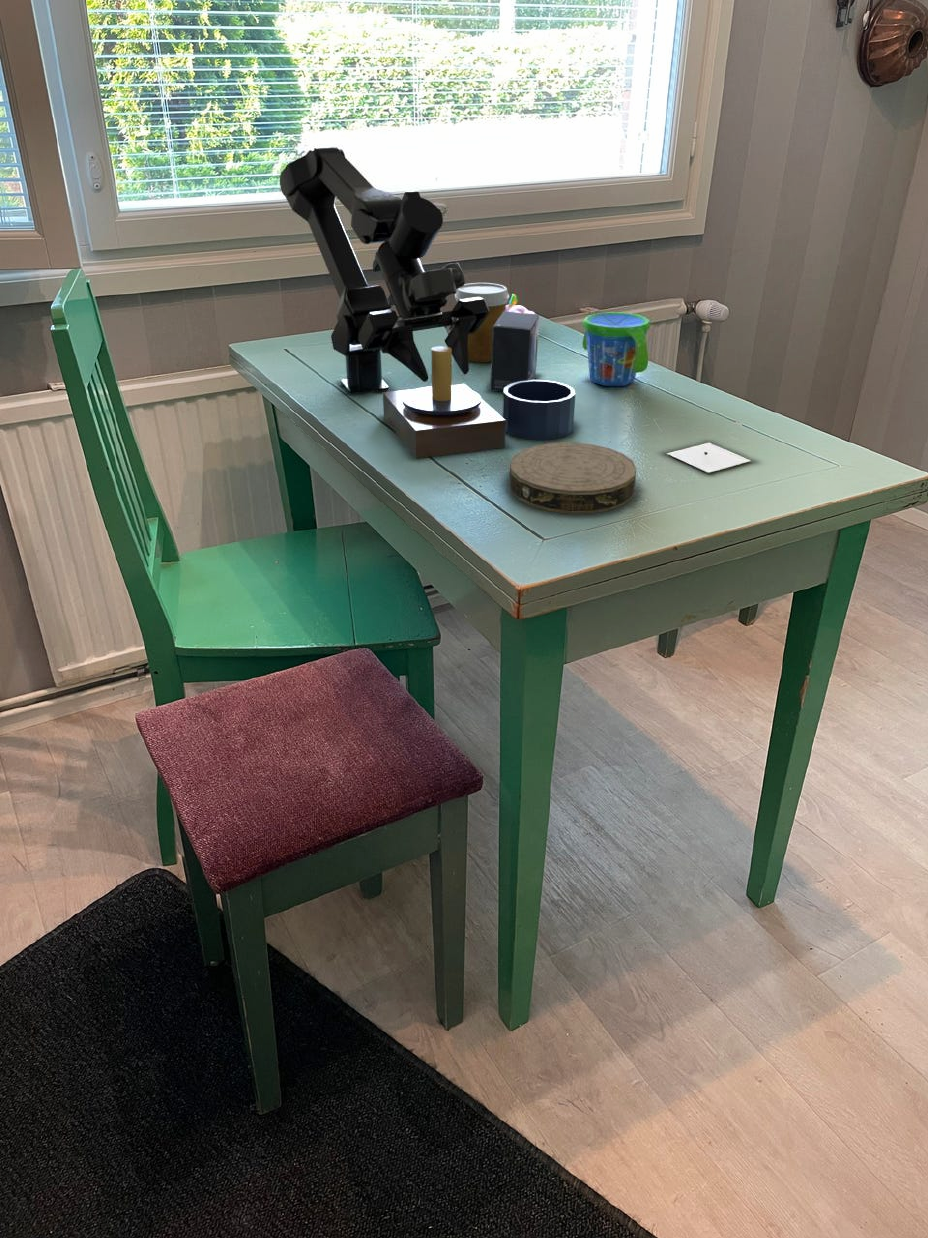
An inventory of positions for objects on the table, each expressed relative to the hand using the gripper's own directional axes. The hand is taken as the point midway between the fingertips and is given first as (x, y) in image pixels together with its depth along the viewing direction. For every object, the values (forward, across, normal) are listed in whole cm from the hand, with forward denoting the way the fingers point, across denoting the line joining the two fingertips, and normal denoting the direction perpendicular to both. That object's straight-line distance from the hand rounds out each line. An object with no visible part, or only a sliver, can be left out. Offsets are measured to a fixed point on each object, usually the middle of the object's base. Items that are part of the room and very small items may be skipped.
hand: (446, 376), depth 131 cm
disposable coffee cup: (-15, +26, +28) cm, 41 cm away
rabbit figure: (-26, +44, +39) cm, 64 cm away
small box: (-4, +22, +17) cm, 28 cm away
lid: (+2, 0, +4) cm, 4 cm away
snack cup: (+1, +37, +11) cm, 39 cm away
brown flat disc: (+23, +4, -11) cm, 26 cm away
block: (+5, 0, +7) cm, 9 cm away
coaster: (+25, +26, -12) cm, 38 cm away
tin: (+9, +13, +3) cm, 16 cm away
